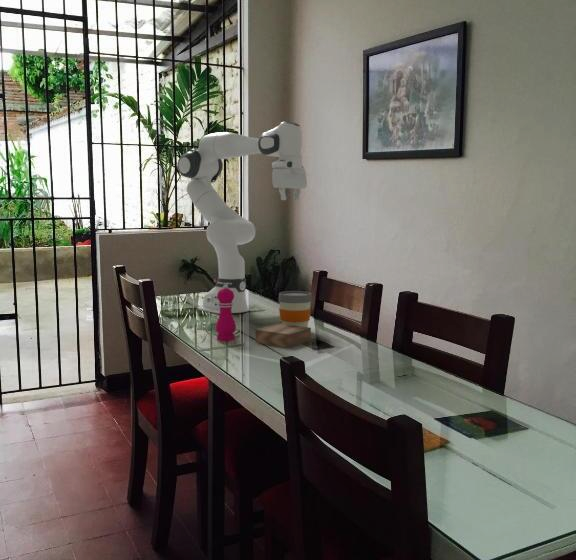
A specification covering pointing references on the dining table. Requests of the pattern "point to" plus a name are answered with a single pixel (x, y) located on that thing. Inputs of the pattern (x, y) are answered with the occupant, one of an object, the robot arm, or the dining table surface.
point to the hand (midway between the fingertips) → (290, 200)
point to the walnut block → (283, 335)
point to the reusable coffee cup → (295, 308)
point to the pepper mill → (225, 315)
